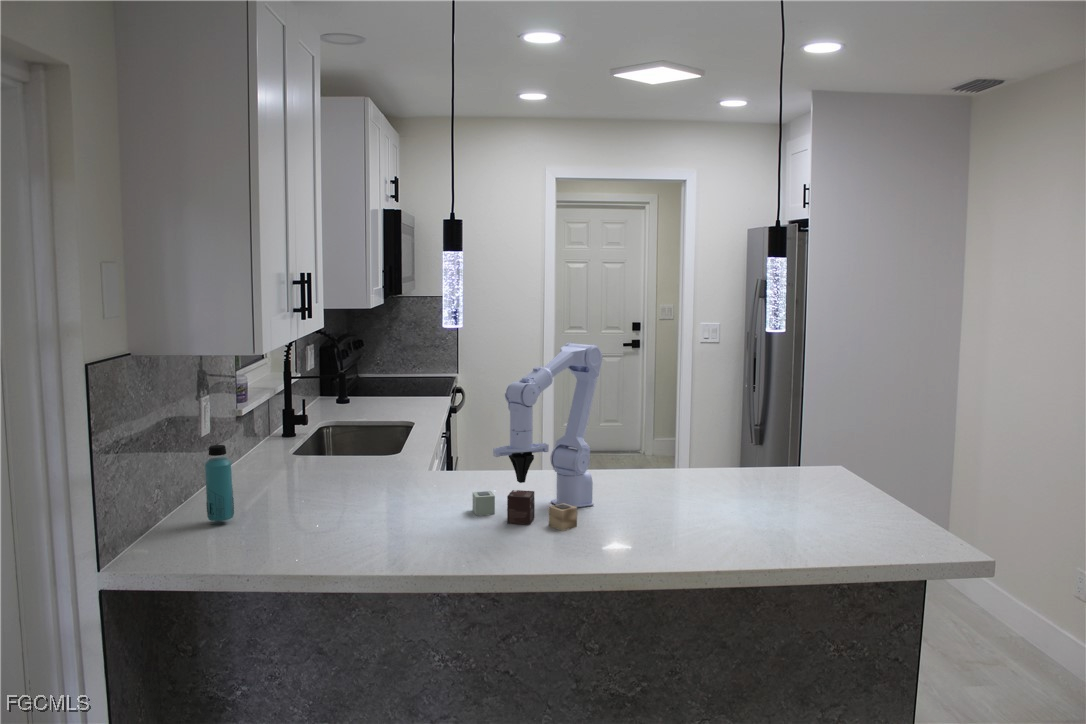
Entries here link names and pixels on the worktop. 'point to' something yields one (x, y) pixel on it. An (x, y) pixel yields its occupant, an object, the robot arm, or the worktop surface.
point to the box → (520, 507)
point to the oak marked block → (563, 516)
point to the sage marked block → (483, 503)
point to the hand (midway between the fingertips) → (521, 481)
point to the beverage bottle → (219, 485)
